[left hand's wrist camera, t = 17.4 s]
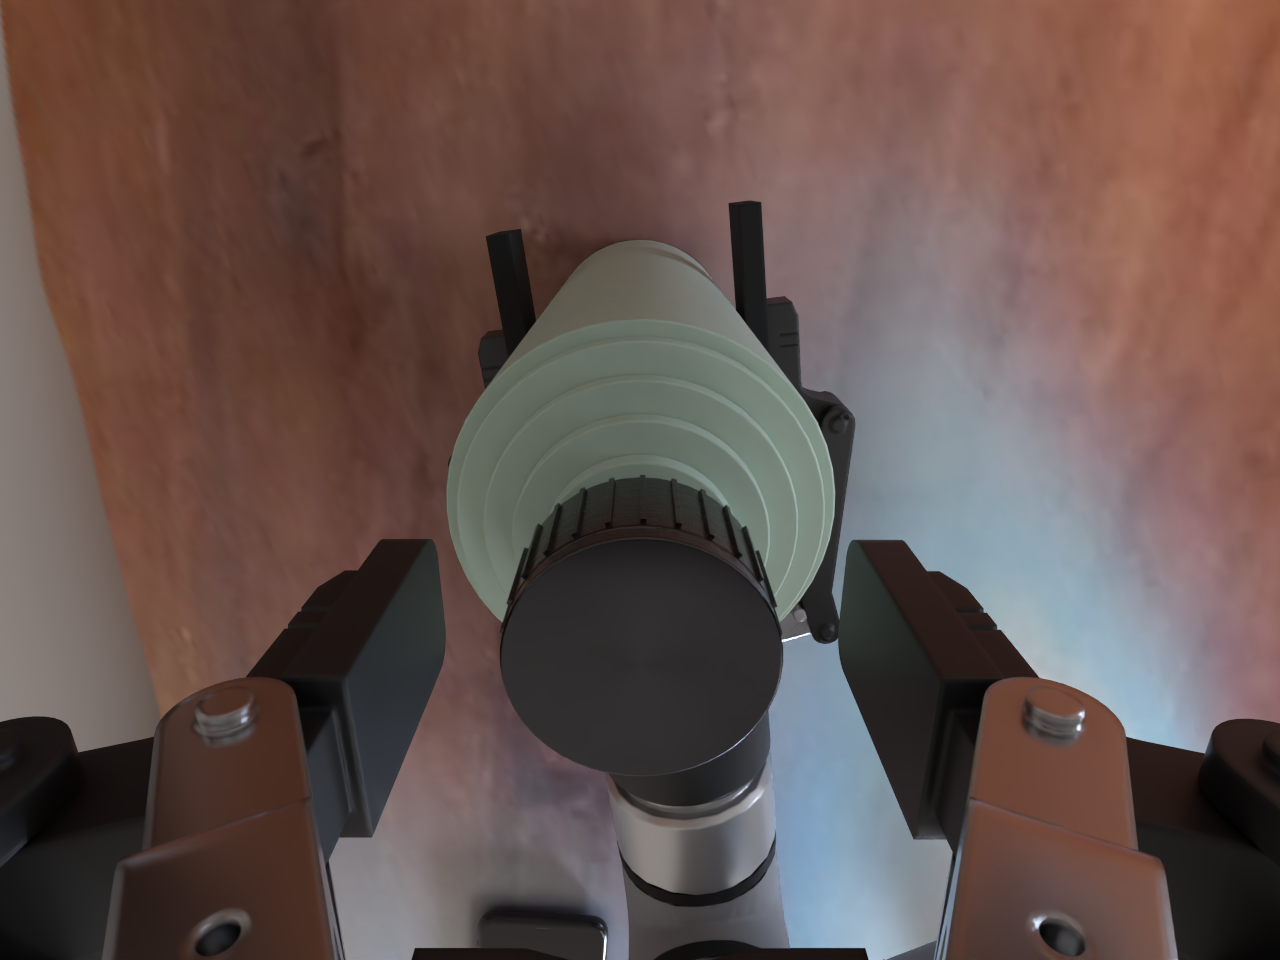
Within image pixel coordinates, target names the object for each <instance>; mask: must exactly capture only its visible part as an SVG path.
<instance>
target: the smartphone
mask: <svg viewBox="0 0 1280 960" xmlns="http://www.w3.org/2000/svg"><path fill="white" fill-rule="evenodd" d="M607 942H608V928H607V925H606V923H605V922H604V920H602V919H601V918H599V917H596V916H591V915H574V914H554V913H533V912H512V911H492V912H488V913H486V914H484V915H483V916H482V918H481V919H480V921H479V925H478V948H527V949H531V950H534V951H538V952H542V953H546V954H550V955H553V956H557V957H561V958H565V959H569V960H606V956H607Z"/></svg>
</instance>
